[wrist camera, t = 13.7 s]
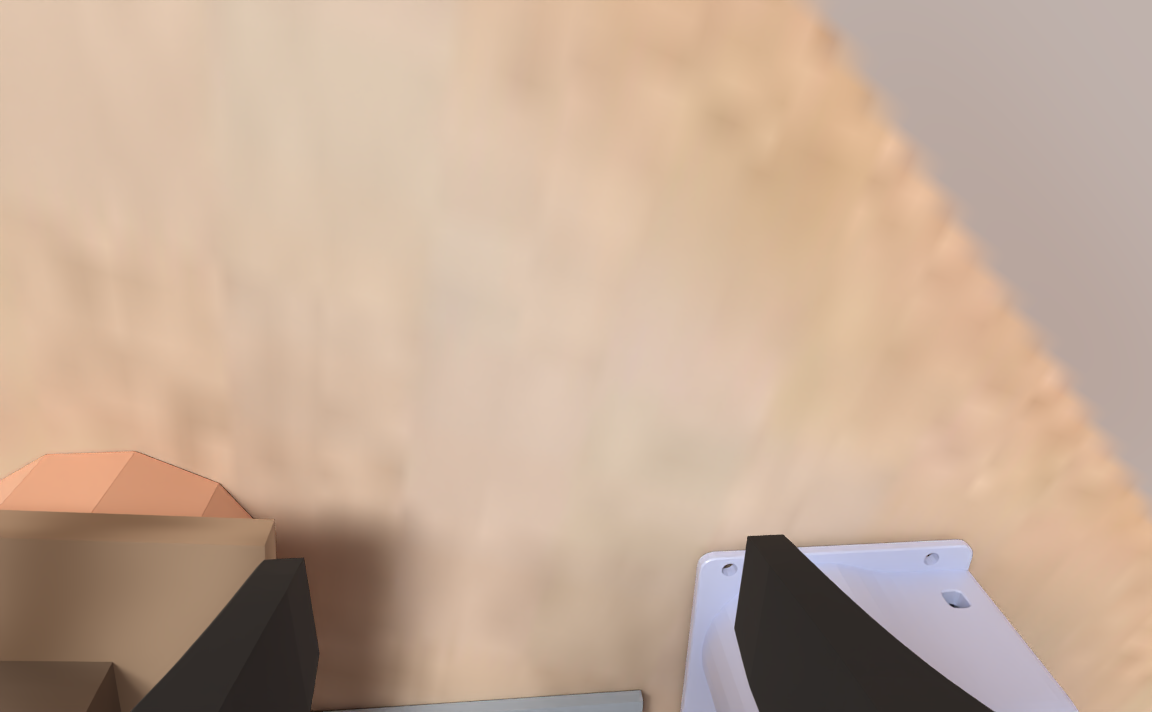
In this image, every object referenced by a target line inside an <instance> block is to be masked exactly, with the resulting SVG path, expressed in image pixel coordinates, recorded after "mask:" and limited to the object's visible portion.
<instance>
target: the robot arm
mask: <svg viewBox="0 0 1152 712" xmlns="http://www.w3.org/2000/svg"><path fill="white" fill-rule="evenodd" d="M931 553H932V554H931ZM929 554H931V555H929ZM927 555H929V556H928V557H926V556H927ZM972 556H973V551H972V549H971V548H970V546H969V545H968V544H967V543H966V542H965V541H963V540H958V539H956V540H936V541H916V542H896V543H876V544H856V545H836V546H817V547H796V546H795V545H794V544H793V543H792V542H791V541H790V540H788V539H787V538H786V537H785V536H784V535H763V536H748V537H747V544H746V550H737V551H717V552H710V553H707V554H705V555H703V556H702V557H701V558H700V559H699V561H698V564H697V572H696V580H695V589H694V598H693V606H692V615H691V624H690V632H689V641H688V650H687V659H686V667H685V676H684V685H683V693H682V702H681V711H680V712H1079V711H1078V709H1077V708H1076V706H1075V705H1074V704H1073V702H1072V701H1071V699H1070V698H1069V697H1068V695H1067V694H1066V693H1065V691H1064V690H1063V689H1062V688H1061V686H1060V685H1059V684H1058V683H1057V681H1056V680H1055V679H1054V678H1053V676H1052V675H1051V674H1050V673H1049V671H1048V670H1047V669H1046V668H1045V666H1044V665H1043V664H1042V662H1041V661H1040V660H1039V659H1038V657H1037V656H1036V655H1035V654H1034V652H1033V651H1032V650H1031V649H1030V647H1029V646H1028V645H1027V644H1026V642H1025V641H1024V640H1023V639H1022V637H1021V636H1020V635H1019V634H1018V632H1017V631H1016V630H1015V629H1014V627H1013V626H1012V625H1011V624H1010V622H1009V621H1008V620H1007V618H1006V617H1005V616H1004V615H1003V613H1002V612H1001V611H1000V610H999V608H998V607H997V606H996V605H995V603H994V602H993V601H992V600H991V598H990V597H989V596H988V595H987V593H986V592H985V591H984V590H983V588H982V587H981V586H980V585H979V583H978V582H977V581H976V579H975V578H974V577H973V576H972V574H971V573H970V572H969V571H968V569H969V566H970V563H971V559H972ZM727 564H733V565H732V566H730V567H728V568H723V567H724V566H725V565H727ZM318 659H319V648H318V642H317V636H316V630H315V623H314V617H313V611H312V605H311V599H310V593H309V586H308V580H307V574H306V568H305V562H304V558H290V559H269V560H263V561H262V562H261V563H260V564H259V565H258V566H257V567H256V569H255V570H254V571H253V572H252V574H251V575H250V576H249V577H248V579H247V580H246V581H245V582H244V584H243V585H242V586H241V587H240V588H239V590H238V591H237V592H236V593H235V595H234V596H233V597H232V598H231V600H230V601H229V602H228V603H227V604H226V606H225V607H224V608H223V609H222V610H221V612H220V613H219V614H218V615H217V616H216V618H215V619H214V620H213V621H212V622H211V624H210V625H209V626H208V627H207V628H206V630H205V631H204V632H203V633H202V634H201V635H200V636H199V638H198V639H197V640H196V641H195V642H194V643H193V644H192V645H191V647H190V648H189V649H188V650H187V651H186V652H185V653H184V655H183V656H182V657H181V658H180V659H179V660H178V661H177V663H176V664H175V665H174V666H173V667H172V668H171V669H170V670H169V671H168V672H167V673H166V675H165V676H164V677H163V678H162V679H161V680H160V681H159V682H158V683H157V684H156V685H155V686H154V687H153V688H152V689H151V690H150V691H149V692H148V693H147V694H146V695H145V696H144V697H143V698H142V699H141V701H140V702H139V703H138V704H137V705H136V706H135V707H134V708H133V709H132V710H131V711H130V712H310V710H311V704H312V698H313V692H314V686H315V679H316V673H317V666H318Z"/></svg>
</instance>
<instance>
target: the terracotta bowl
mask: <svg viewBox="0 0 1152 712" xmlns="http://www.w3.org/2000/svg"><path fill="white" fill-rule="evenodd" d="M0 510H19V511H48V512H76V513H105V514H133V515H162V516H190V517H219V518H247V519H253V518H252V517H251V516H250V515H249V514H248V513H247V512H246V511H245V510H244V509H243V508H242V507H241V506H240V505H239V504H238V503H237V502H236V501H235V500H234V499H233V498H232V497H231V495H230V494H229V493H228V492H227V491H226V490H225V489H224V488H223V487H222V486H221V485H220V484H218V483H217V482H214V481H211V480H209V479H206V478H204V477H201V476H198V475H196V474H193V473H191V472H188V471H185V470H183V469H180V468H177V467H175V466H172V465H170V464H167V463H164V462H162V461H159V460H157V459H154V458H151V457H149V456H146V455H144V454H141V453H138V452H135V451H132V452H103V453H74V454H46V455H44V456H42V457H41V458H39V459H37V460H35V461H34V462H32V463H30V464H28V465H27V466H25V467H23V468H22V469H20V470H18V471H16V472H15V473H13V474H11V475H9V476H8V477H6V478H4V479H3V480H1V481H0Z"/></svg>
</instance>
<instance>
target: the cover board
mask: <svg viewBox="0 0 1152 712" xmlns="http://www.w3.org/2000/svg"><path fill="white" fill-rule="evenodd" d="M269 559H276V539H275V519H247V518H219V517H190V516H162V515H133V514H105V513H76V512H48V511H19V510H0V712H130V711H131V710H132V709H133V708H134V707H135V706H136V705H137V704H138V703H139V702H140V701H141V699H142V698H143V697H144V696H145V695H146V694H147V693H148V692H149V691H150V690H151V689H152V688H153V687H154V686H155V685H156V684H157V683H158V682H159V681H160V680H161V679H162V678H163V677H164V676H165V675H166V673H167V672H168V671H169V670H170V669H171V668H172V667H173V666H174V665H175V664H176V663H177V661H178V660H179V659H180V658H181V657H182V656H183V655H184V653H185V652H186V651H187V650H188V649H189V648H190V647H191V645H192V644H193V643H194V642H195V641H196V640H197V639H198V638H199V636H200V635H201V634H202V633H203V632H204V631H205V630H206V628H207V627H208V626H209V625H210V624H211V622H212V621H213V620H214V619H215V618H216V616H217V615H218V614H219V613H220V612H221V610H222V609H223V608H224V607H225V606H226V604H227V603H228V602H229V601H230V600H231V598H232V597H233V596H234V595H235V593H236V592H237V591H238V590H239V588H240V587H241V586H242V585H243V584H244V582H245V581H246V580H247V579H248V577H249V576H250V575H251V574H252V572H253V571H254V570H255V569H256V567H257V566H258V565H259V564H260V563H261V562H262V561H263V560H269Z"/></svg>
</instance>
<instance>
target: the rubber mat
mask: <svg viewBox="0 0 1152 712" xmlns="http://www.w3.org/2000/svg"><path fill="white" fill-rule="evenodd" d="M642 710H643V698H642V693H641V690H635V691H620V692H606V693H591V694H576V695H561V696H547V697H532V698H517V699H502V700H488V701H473V702H458V703H443V704H429V705H414V706H399V707H384V708H369V709H355V710H340V711H325V712H642Z"/></svg>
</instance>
